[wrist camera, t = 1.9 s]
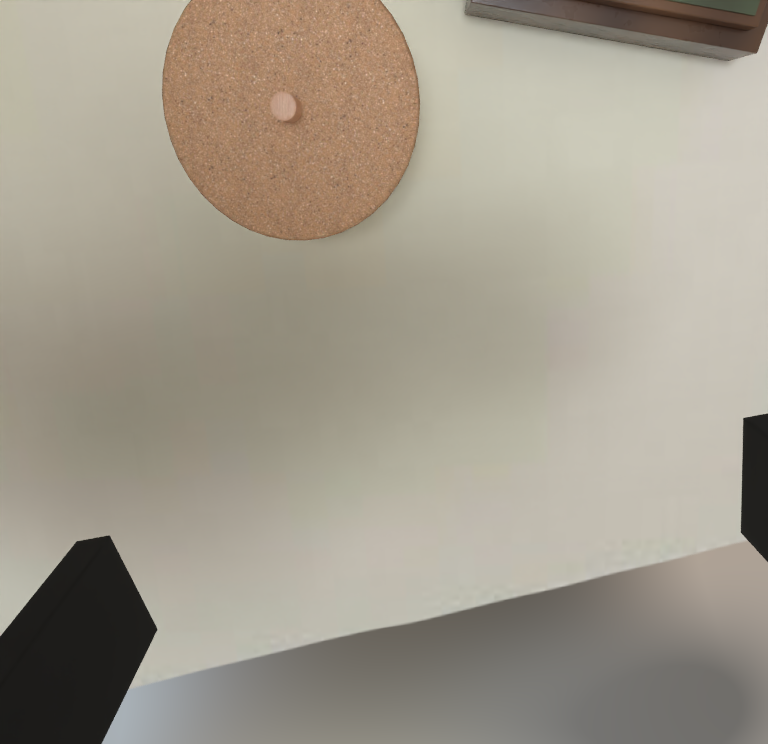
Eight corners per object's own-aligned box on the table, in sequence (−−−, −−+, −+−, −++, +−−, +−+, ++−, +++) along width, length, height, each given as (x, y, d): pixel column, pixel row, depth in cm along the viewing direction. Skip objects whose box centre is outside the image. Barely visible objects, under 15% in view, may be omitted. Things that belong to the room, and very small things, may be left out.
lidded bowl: (425, 16, 28) (440, -46, 19) (401, 230, 32) (404, 259, 23) (215, -9, 28) (133, -82, 19) (218, 210, 32) (151, 232, 23)
